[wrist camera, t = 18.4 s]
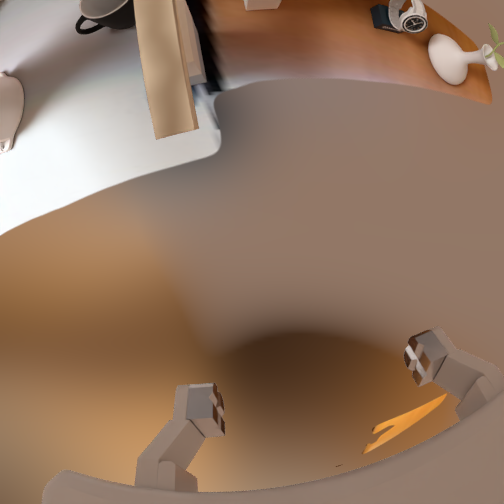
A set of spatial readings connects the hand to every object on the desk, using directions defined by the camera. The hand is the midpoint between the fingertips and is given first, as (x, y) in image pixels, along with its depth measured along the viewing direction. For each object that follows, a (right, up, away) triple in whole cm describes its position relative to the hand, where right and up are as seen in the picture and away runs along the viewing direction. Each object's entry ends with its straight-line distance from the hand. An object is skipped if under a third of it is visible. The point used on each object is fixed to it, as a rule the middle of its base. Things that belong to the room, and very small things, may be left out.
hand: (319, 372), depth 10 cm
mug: (-24, +43, +17) cm, 52 cm away
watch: (+21, +46, +20) cm, 54 cm away
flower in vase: (+36, +44, +22) cm, 61 cm away
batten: (-11, +26, +9) cm, 30 cm away
